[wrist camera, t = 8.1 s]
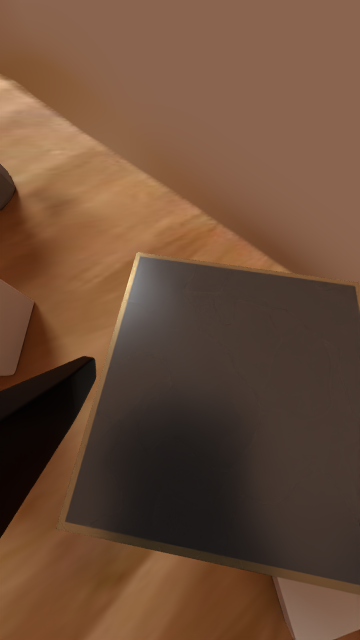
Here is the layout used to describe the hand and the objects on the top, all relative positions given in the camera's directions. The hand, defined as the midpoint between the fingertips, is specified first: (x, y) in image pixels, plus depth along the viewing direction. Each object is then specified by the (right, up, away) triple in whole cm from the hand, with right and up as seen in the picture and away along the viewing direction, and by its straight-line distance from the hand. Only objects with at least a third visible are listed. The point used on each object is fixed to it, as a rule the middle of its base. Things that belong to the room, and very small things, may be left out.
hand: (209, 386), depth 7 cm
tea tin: (0, -3, +8) cm, 8 cm away
